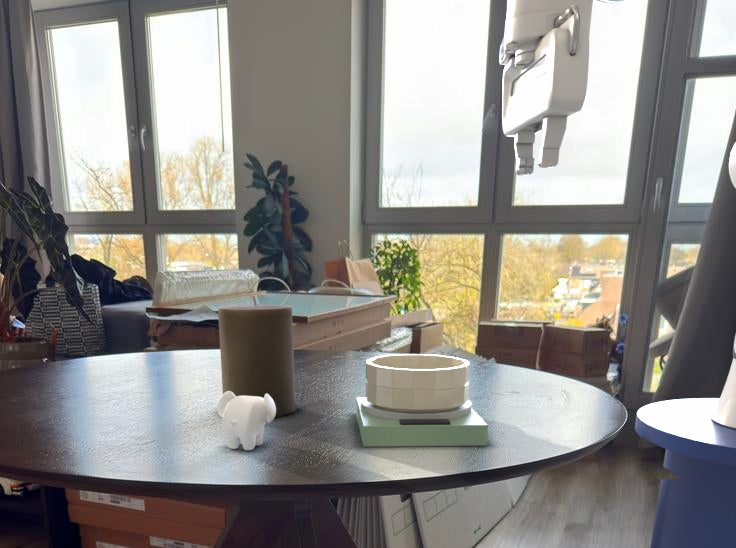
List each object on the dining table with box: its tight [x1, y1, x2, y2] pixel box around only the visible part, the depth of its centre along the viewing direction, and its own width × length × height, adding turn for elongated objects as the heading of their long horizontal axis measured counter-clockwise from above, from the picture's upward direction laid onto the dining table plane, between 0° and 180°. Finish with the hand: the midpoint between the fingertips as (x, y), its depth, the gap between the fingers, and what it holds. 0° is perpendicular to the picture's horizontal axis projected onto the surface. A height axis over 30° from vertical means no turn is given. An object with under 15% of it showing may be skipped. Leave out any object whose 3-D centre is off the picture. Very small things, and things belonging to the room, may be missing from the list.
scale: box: [355, 396, 489, 448], centre depth 88 cm, size 14×16×3 cm
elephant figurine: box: [216, 391, 276, 451], centre depth 80 cm, size 7×8×6 cm
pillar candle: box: [217, 295, 296, 418], centre depth 96 cm, size 10×10×15 cm
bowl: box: [365, 353, 471, 413], centre depth 87 cm, size 12×12×5 cm
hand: (535, 171), depth 82 cm, fingers open, 8 cm apart
